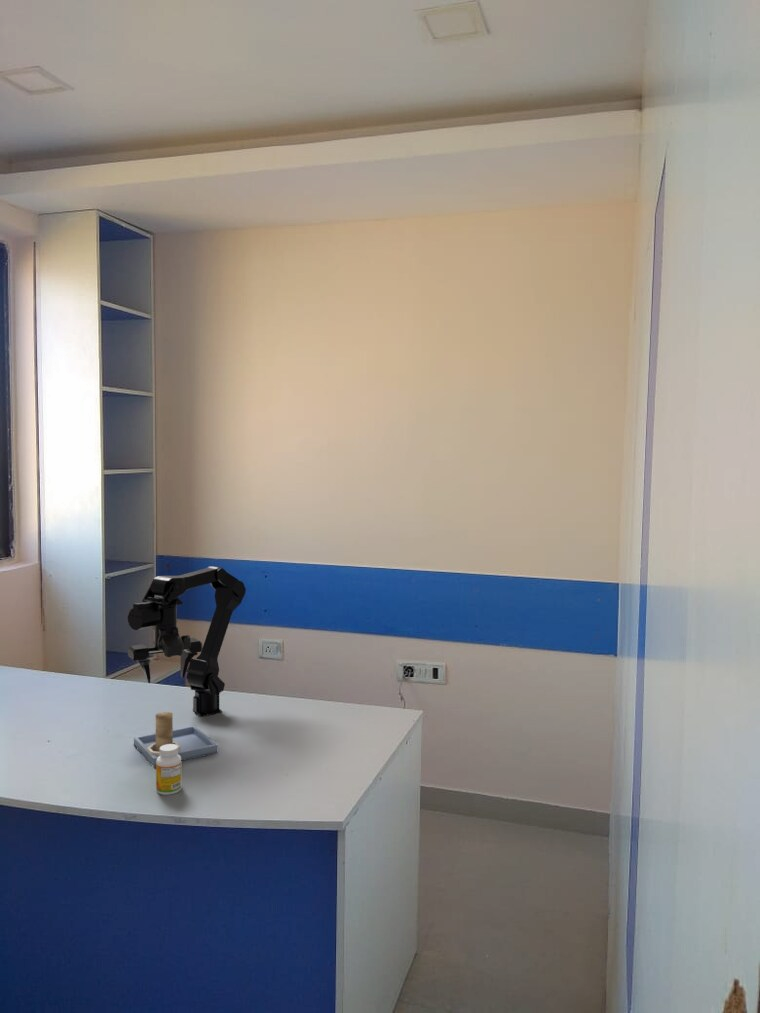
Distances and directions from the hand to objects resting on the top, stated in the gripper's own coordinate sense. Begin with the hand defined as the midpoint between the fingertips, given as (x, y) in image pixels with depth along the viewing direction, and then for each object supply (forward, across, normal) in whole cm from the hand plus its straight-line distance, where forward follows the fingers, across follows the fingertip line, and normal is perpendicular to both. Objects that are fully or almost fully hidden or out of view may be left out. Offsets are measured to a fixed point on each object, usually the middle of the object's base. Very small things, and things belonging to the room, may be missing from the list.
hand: (165, 680), depth 205 cm
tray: (+13, -3, -16) cm, 21 cm away
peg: (+12, -7, -20) cm, 24 cm away
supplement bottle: (+13, -12, -38) cm, 42 cm away
